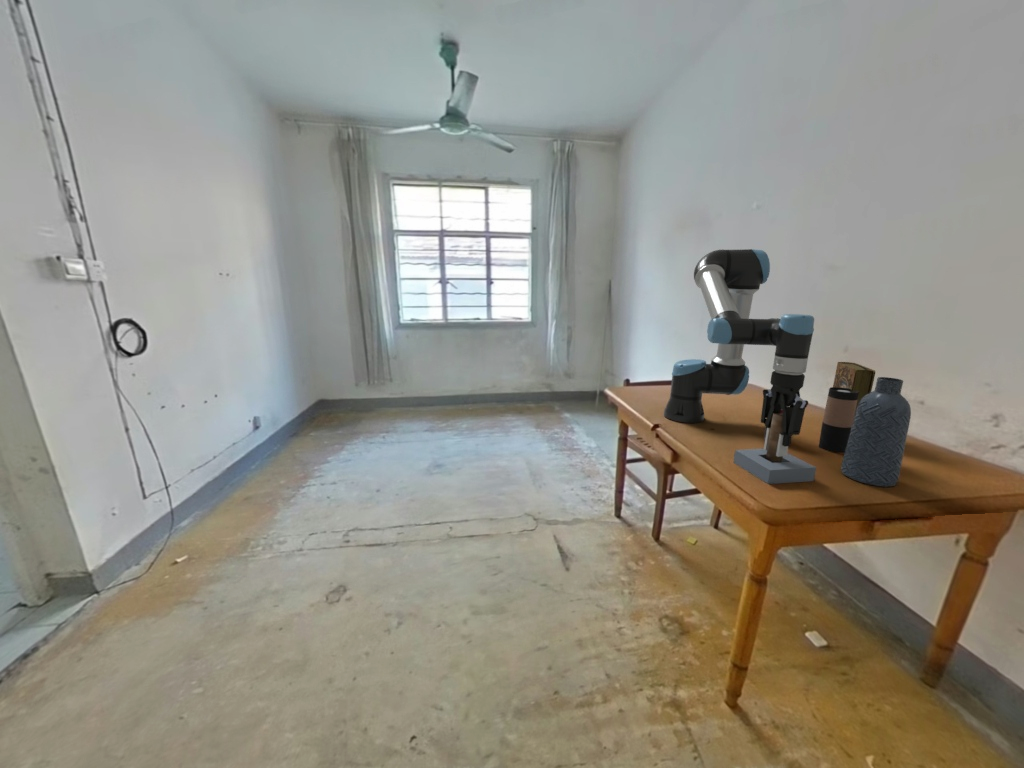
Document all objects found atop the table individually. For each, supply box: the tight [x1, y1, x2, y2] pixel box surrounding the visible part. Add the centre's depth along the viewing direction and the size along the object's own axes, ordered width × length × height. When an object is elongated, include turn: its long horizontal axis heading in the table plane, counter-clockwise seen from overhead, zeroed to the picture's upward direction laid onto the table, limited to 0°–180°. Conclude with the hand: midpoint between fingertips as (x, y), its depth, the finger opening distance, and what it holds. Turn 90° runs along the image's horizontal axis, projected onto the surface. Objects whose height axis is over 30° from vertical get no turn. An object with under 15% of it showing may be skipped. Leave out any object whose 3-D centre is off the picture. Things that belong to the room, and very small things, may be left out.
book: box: [832, 361, 876, 416], centre depth 147 cm, size 16×6×25 cm, turn 161°
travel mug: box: [818, 386, 859, 454], centre depth 133 cm, size 8×8×20 cm
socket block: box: [733, 448, 817, 485], centre depth 118 cm, size 14×14×4 cm
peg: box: [766, 413, 783, 463], centre depth 116 cm, size 4×4×15 cm
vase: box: [840, 376, 912, 488], centre depth 112 cm, size 12×12×28 cm
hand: (774, 452), depth 117 cm, fingers closed on peg, 4 cm apart
